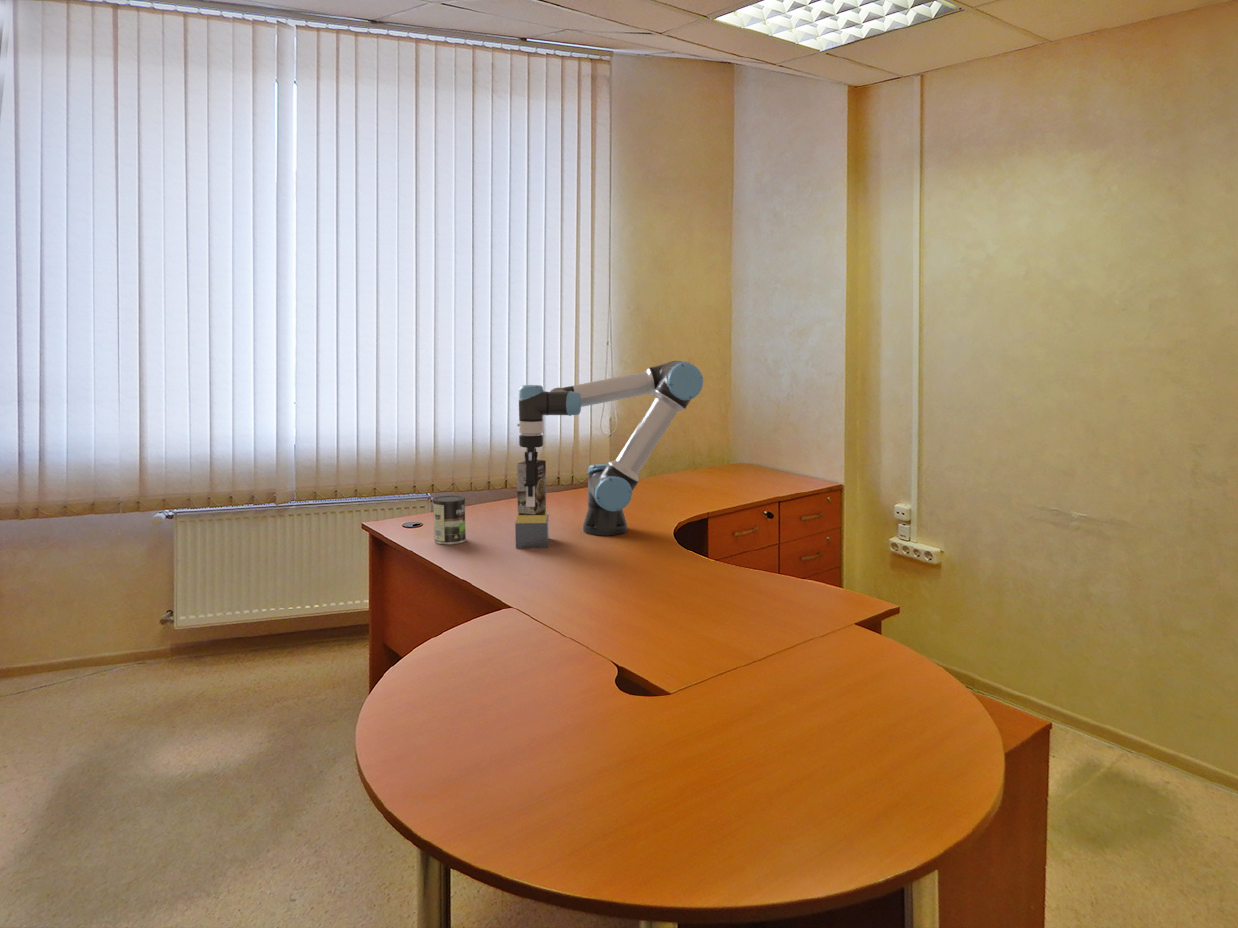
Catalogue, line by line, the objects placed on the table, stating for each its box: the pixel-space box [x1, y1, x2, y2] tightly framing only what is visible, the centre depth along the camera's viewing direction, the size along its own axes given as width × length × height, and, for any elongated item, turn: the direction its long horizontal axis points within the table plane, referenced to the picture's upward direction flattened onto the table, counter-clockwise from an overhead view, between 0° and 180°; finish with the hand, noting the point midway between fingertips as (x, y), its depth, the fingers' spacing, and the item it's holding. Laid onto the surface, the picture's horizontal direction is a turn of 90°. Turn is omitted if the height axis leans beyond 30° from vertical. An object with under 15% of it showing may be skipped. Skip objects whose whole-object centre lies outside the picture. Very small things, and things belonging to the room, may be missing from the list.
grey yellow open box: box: [514, 506, 550, 549], centre depth 272 cm, size 10×12×10 cm
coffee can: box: [432, 495, 467, 545], centre depth 274 cm, size 10×10×14 cm
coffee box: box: [516, 459, 547, 515], centre depth 270 cm, size 9×6×16 cm
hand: (531, 502), depth 270 cm, fingers closed on coffee box, 10 cm apart
